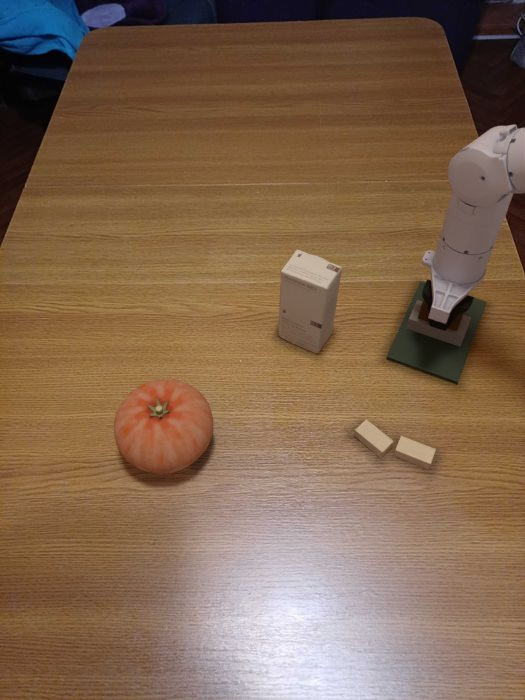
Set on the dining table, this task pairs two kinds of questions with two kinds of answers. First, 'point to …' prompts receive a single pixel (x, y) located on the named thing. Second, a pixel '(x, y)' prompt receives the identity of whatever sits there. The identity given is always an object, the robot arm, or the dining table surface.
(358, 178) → the dining table surface
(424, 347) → the slate
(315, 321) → the cosmetic box
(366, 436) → the chalk
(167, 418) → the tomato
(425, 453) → the chalk
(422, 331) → the eraser
